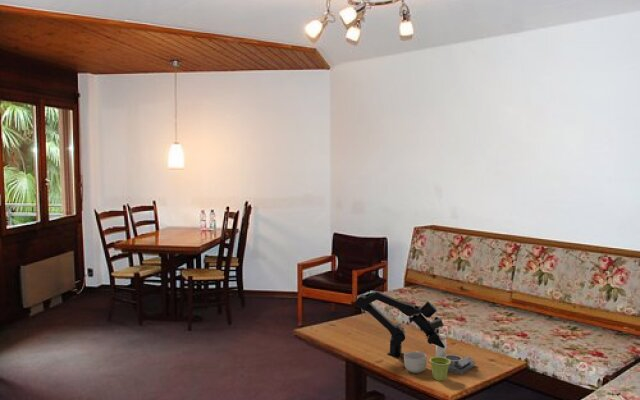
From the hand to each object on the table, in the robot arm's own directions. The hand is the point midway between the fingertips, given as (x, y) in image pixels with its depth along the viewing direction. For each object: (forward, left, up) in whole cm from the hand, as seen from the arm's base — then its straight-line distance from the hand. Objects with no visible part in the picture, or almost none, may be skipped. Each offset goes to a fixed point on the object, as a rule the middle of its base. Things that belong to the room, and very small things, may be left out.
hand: (444, 345), depth 281 cm
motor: (-7, -10, -7) cm, 14 cm away
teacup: (-24, +2, -7) cm, 25 cm away
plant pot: (-26, -12, -7) cm, 29 cm away
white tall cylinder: (-1, +1, -7) cm, 7 cm away
